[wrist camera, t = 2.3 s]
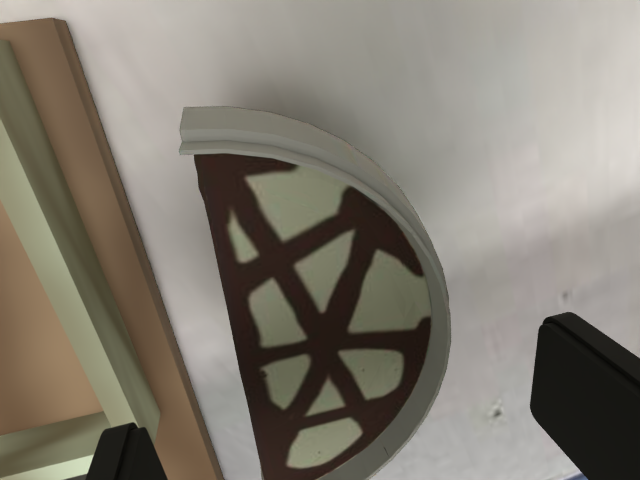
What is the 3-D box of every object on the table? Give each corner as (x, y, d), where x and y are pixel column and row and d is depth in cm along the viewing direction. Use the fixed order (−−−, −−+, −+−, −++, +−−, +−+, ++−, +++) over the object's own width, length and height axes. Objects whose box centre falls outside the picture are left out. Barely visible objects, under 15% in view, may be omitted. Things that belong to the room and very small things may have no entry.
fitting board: (65, 21, 14) (15, 9, 11) (240, 526, 27) (241, 591, 24) (-419, 76, 12) (-657, 82, 9) (16, 590, 25) (-17, 671, 22)
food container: (364, 314, 22) (457, 489, 13) (252, 336, 21) (268, 540, 12) (354, 70, 17) (496, 83, 8) (204, 85, 16) (170, 119, 7)
